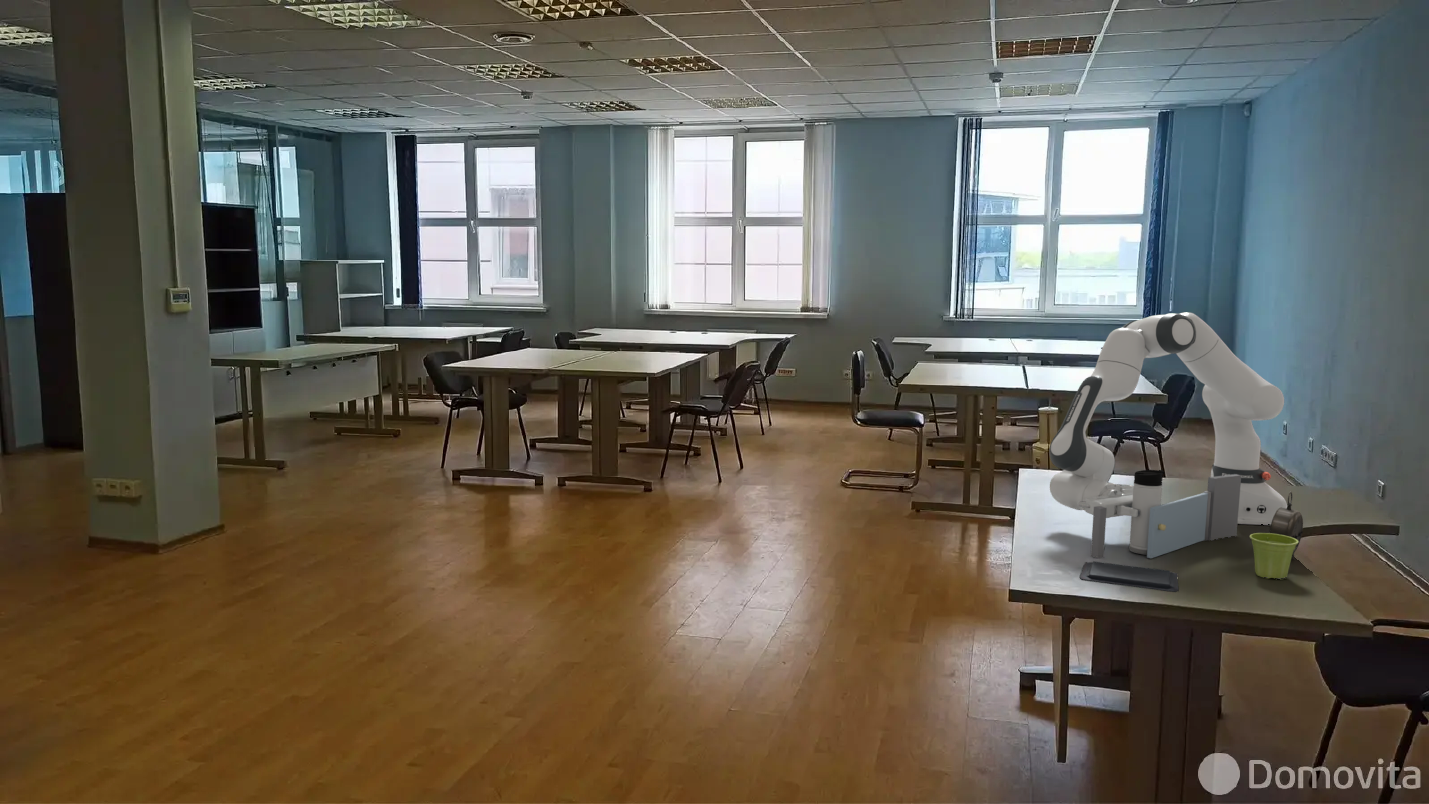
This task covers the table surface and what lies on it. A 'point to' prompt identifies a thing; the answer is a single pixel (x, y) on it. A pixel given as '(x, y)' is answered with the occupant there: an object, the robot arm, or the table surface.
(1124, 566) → the dark grey book
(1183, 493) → the table surface
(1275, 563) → the plant pot
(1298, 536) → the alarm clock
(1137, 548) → the travel mug
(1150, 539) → the door
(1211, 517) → the pair of grey slabs
